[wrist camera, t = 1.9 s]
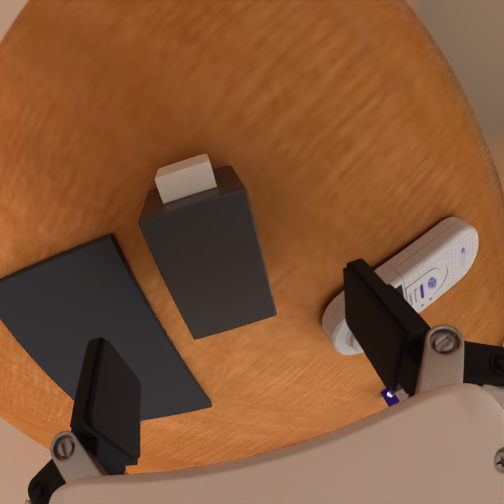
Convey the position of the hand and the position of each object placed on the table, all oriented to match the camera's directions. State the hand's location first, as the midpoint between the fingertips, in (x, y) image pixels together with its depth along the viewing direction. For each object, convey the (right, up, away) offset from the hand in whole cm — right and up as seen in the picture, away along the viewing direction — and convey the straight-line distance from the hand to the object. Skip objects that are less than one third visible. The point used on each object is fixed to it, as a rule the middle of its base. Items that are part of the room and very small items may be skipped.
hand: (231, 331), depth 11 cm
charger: (-2, +4, +6) cm, 7 cm away
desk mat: (-11, -5, +9) cm, 15 cm away
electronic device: (+12, +1, +11) cm, 17 cm away
